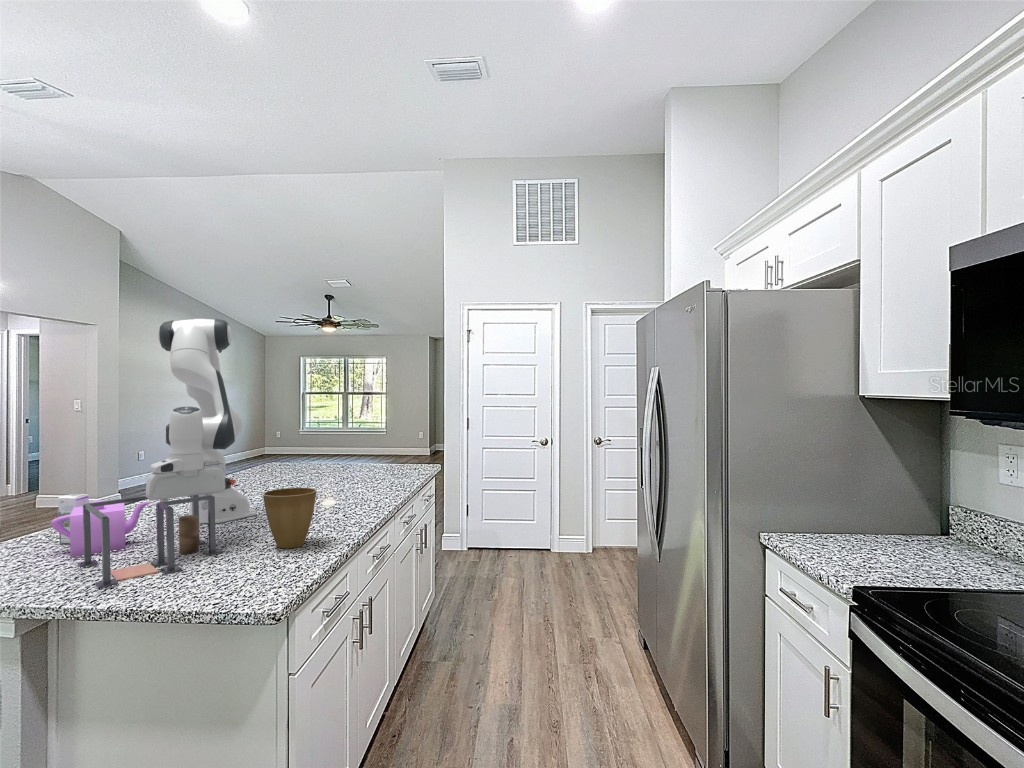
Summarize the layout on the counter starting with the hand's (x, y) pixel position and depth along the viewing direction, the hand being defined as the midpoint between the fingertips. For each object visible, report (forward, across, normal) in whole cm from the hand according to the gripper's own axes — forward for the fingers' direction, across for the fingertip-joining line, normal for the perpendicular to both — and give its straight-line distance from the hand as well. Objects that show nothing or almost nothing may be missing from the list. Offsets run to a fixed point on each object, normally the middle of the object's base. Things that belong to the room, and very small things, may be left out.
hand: (186, 511), depth 172 cm
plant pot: (+12, -24, +15) cm, 31 cm away
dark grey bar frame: (+12, +9, +4) cm, 15 cm away
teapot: (+12, +16, -25) cm, 32 cm away
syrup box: (+12, +21, -39) cm, 46 cm away
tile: (+12, +15, +10) cm, 22 cm away
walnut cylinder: (+12, -1, 0) cm, 12 cm away
